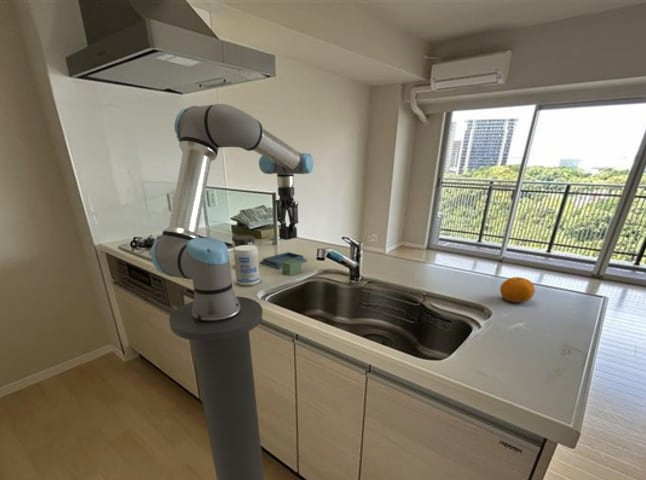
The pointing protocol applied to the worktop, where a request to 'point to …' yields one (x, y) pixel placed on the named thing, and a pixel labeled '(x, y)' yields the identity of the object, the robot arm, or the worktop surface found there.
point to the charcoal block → (286, 233)
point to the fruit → (517, 289)
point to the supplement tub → (246, 265)
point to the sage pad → (291, 267)
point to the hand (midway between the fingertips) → (288, 237)
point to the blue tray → (281, 259)
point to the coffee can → (242, 240)
